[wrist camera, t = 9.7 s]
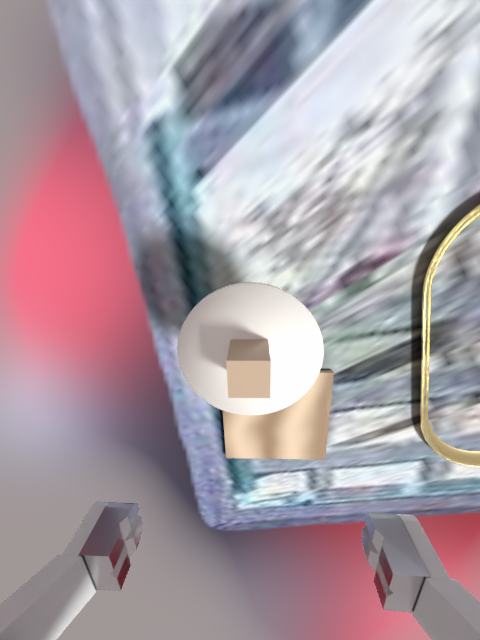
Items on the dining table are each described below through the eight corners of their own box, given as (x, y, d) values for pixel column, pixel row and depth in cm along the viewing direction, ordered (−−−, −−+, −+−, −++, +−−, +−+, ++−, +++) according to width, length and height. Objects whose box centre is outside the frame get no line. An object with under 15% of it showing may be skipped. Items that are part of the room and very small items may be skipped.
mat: (332, 370, 31) (333, 372, 31) (323, 455, 36) (324, 459, 36) (220, 370, 32) (219, 373, 32) (226, 454, 37) (226, 457, 36)
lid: (327, 280, 19) (347, 294, 15) (315, 410, 23) (328, 448, 19) (172, 283, 20) (151, 296, 16) (187, 408, 24) (173, 445, 20)
